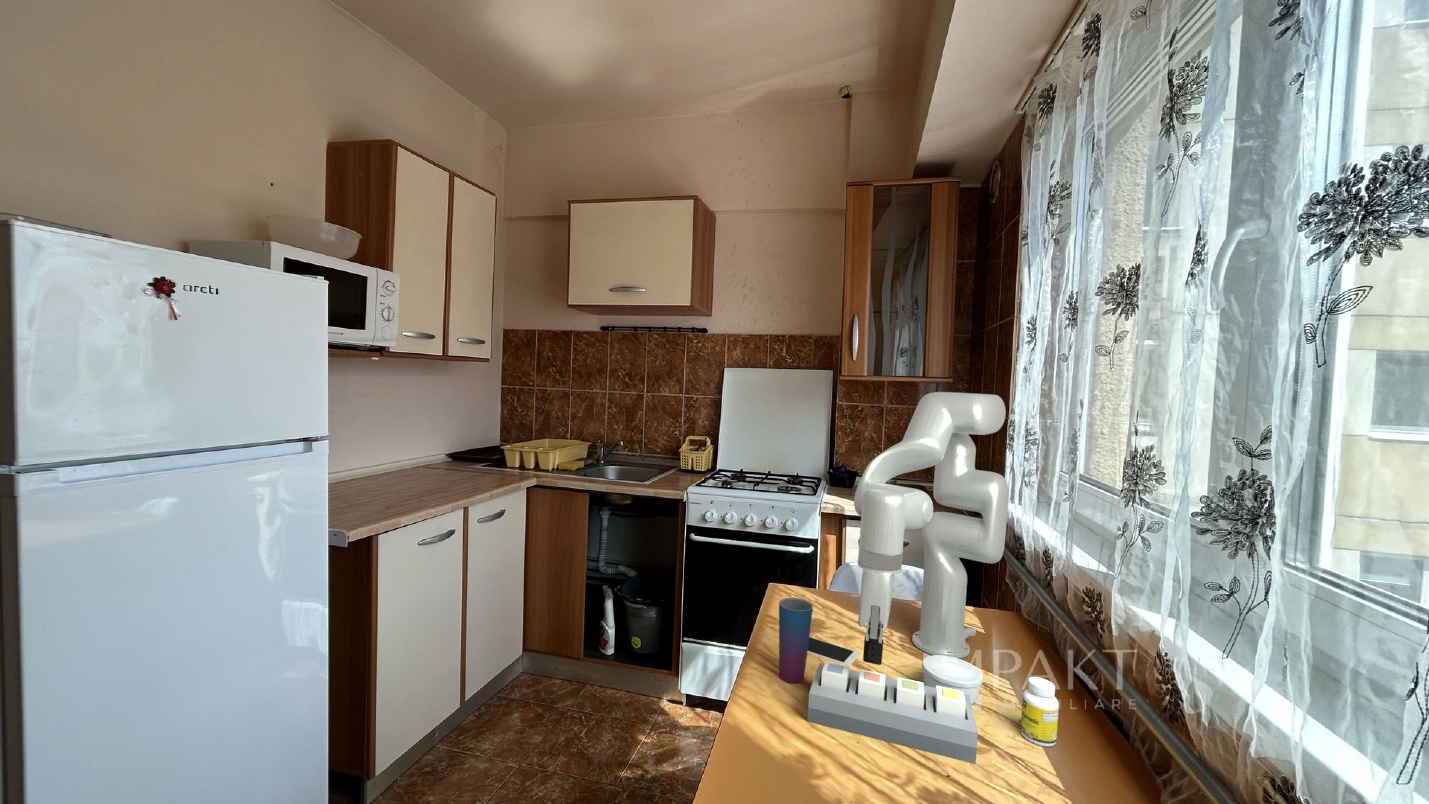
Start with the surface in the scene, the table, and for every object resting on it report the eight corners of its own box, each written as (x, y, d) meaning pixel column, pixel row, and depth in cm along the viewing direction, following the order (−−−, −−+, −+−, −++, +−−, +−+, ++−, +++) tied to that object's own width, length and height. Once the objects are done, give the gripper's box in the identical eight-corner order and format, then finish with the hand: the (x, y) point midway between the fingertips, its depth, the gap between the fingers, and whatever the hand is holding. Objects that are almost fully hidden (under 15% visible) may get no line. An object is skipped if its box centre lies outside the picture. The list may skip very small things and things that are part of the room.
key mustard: (936, 715, 94) (937, 696, 94) (935, 702, 98) (936, 684, 98) (964, 721, 92) (965, 703, 92) (962, 708, 97) (963, 690, 96)
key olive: (896, 706, 96) (897, 687, 96) (896, 693, 100) (897, 676, 100) (923, 712, 94) (924, 693, 94) (922, 699, 99) (923, 681, 99)
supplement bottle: (1013, 728, 99) (1017, 674, 99) (1042, 728, 99) (1046, 674, 99) (1033, 748, 93) (1037, 690, 93) (1063, 748, 94) (1067, 691, 94)
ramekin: (978, 687, 113) (979, 661, 113) (985, 716, 102) (987, 688, 102) (919, 674, 117) (921, 650, 116) (921, 701, 106) (923, 674, 106)
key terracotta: (857, 697, 98) (858, 679, 98) (859, 685, 102) (860, 668, 102) (883, 703, 97) (884, 685, 97) (884, 690, 101) (885, 673, 101)
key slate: (820, 688, 100) (822, 671, 100) (824, 677, 104) (825, 660, 104) (845, 694, 99) (846, 676, 99) (848, 682, 103) (849, 665, 103)
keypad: (807, 721, 97) (809, 693, 97) (817, 688, 109) (819, 662, 108) (975, 763, 88) (977, 732, 88) (967, 722, 100) (969, 695, 100)
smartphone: (849, 665, 118) (786, 644, 126) (849, 668, 118) (785, 647, 126) (861, 652, 124) (799, 633, 133) (860, 655, 124) (799, 636, 133)
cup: (807, 688, 108) (812, 612, 108) (773, 683, 109) (777, 608, 109) (808, 671, 115) (813, 600, 114) (776, 666, 116) (780, 596, 116)
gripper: (861, 546, 107) (854, 641, 107) (854, 567, 93) (846, 675, 93) (902, 552, 105) (895, 649, 105) (901, 574, 91) (893, 686, 91)
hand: (872, 661), depth 99 cm, fingers closed
